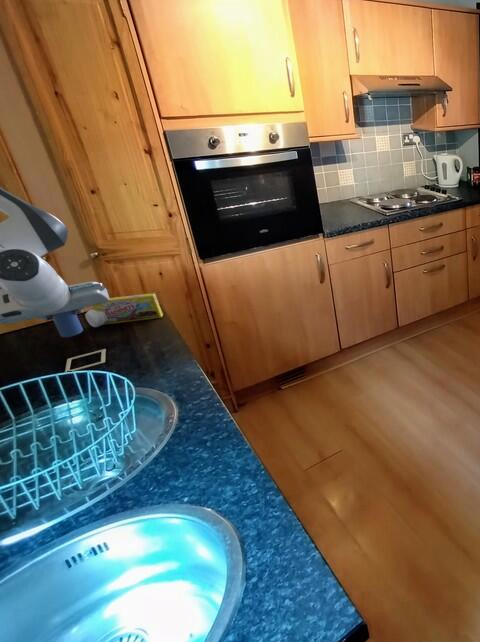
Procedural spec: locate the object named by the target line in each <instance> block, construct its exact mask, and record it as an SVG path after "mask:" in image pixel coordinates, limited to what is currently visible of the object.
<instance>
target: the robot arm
mask: <svg viewBox="0 0 480 642" xmlns="http://www.w3.org/2000/svg"><path fill="white" fill-rule="evenodd" d="M0 212H1V213H3V214H4V215H6V216H8V217H7V218H6V219H5V220H3V221H0V325H1V326H7V325H11V324H12V325H13V324H17V323H21V322H26V321H30V320H43V321H45V322H47V321H51V320H53V318H52V316H51V315H53V314H58V313H62V312H67V311H71V310H73V311H74V313H75V314H76V315H77V314H81V313H84V309H85V308H89V307H93V306H94V305H98V304H103V303H106V302H108V301H109V298H110V295H109V292H108V289H107V288H106V287H105V285H104V284H103V283H102V282H98V281H86V282H81V283H76V284H71V285H68V284H67V283H66V281H65V280H64V279H63V278H62V277H61V276H60V275H59V274H58V273H57V271H56V270H55V269H54V268H53V266H52V265H51V264H50V263H48V262H47V261H46V260H45V259H43V258H42V257H43V256H45V255H46V254H49V253H53V252H54V251H56V250H58V249H60V248H63V247H65V245H66V244H67V241H68V236H69V229H68V228H67V227H66V225H65V224H64V223H63V222H62V221H61V220H60V219H59V218H57V216H54V215H53V214H51V213H49V212H47V211H45V210H43V209H41V208H39V207H37V206H35V205H33V204H31V203H29V202H27V201H25V200H23V199H22V198H20V197H18V196H16V195H14V194H12V193H11V192H9V191H7V190H5V189H4V188H2V187H0Z"/></svg>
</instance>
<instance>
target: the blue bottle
mask: <svg viewBox="0 0 480 642" xmlns="http://www.w3.org/2000/svg"><path fill="white" fill-rule="evenodd" d="M51 316H52V318H53V319H52V321H53V323H54V325H55V327H56V329H57V331H58V333H59V336H60V337H61V338H70V337H74V336H76V335H79V334H81V333H82V332H83V331H84V328H83V326H82V324H81V322H80V320H79V316H78V315H77V314H75V313H74V311H73V310H71V311H67V312H62V313H58V314H53V315H51Z"/></svg>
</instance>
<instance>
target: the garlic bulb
mask: <svg viewBox="0 0 480 642" xmlns="http://www.w3.org/2000/svg"><path fill="white" fill-rule="evenodd" d="M84 316H85V319H86V321H87V322H88V324H89V326H91V327H92V328H99V327H102V326H103V324H104V323H105V322H106V321H107V320H108V318H107V316H106V315H105V313H103V312H98V311H96V310H94V309H90V310H88V311H87V312H86V313H85V314H84ZM104 325H105V324H104Z"/></svg>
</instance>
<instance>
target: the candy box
mask: <svg viewBox="0 0 480 642" xmlns="http://www.w3.org/2000/svg"><path fill="white" fill-rule="evenodd" d="M92 308H93V310H96V311H98V312H103V313H105V315H106V316H107V318H108V320H107V321H106V322H105V323H104V324H103V325H112V324H113V325H114V324H120V323H128V322H138V321H145V320H153V319H160V318H161V319H162V317H163V316H164V313H163V311H162V308H161V306H160V303H159V300H158V297H157V295H156V293H155V292H154V293H145V294H144V293H143V294H133V295H125V296H117V297H116V296H115V297H109V301H108V302H106V303H103V304H98V305H94V306H92ZM103 325H102V326H103Z"/></svg>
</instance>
